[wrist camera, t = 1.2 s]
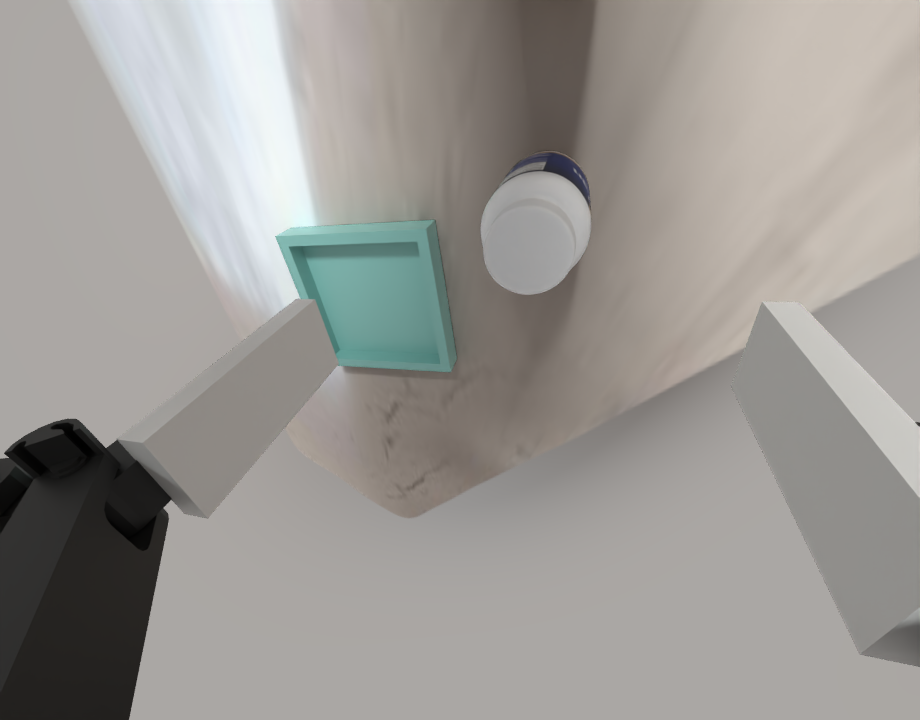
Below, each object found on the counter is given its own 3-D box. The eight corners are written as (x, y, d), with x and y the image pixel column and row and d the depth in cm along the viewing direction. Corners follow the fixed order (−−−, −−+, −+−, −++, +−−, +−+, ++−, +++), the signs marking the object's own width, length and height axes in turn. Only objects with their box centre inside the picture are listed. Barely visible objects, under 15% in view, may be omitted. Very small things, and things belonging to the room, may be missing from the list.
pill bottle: (601, 218, 24) (610, 286, 16) (522, 251, 26) (498, 324, 19) (571, 130, 22) (566, 162, 14) (488, 175, 24) (445, 224, 17)
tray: (291, 227, 30) (275, 236, 28) (435, 219, 27) (425, 229, 25) (338, 352, 37) (327, 364, 35) (457, 358, 34) (450, 372, 32)
